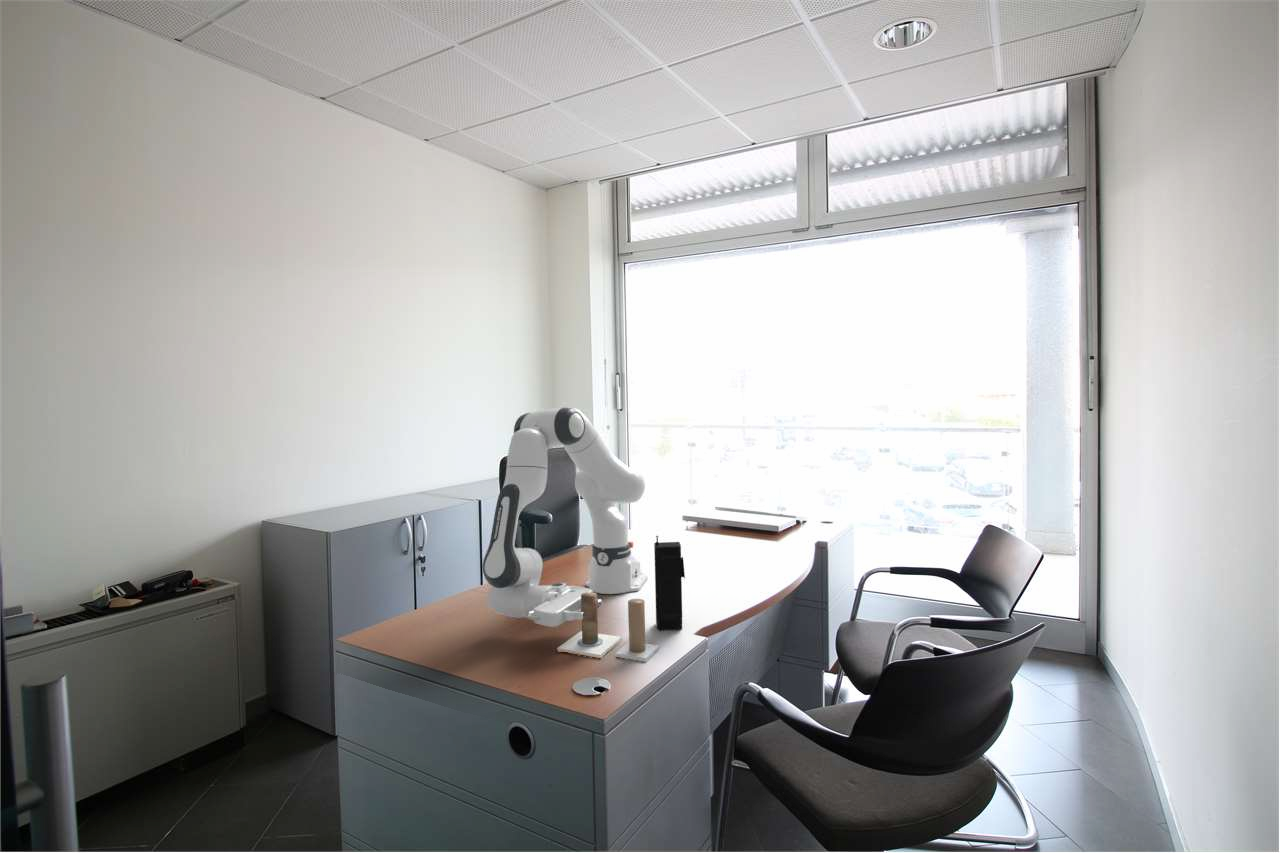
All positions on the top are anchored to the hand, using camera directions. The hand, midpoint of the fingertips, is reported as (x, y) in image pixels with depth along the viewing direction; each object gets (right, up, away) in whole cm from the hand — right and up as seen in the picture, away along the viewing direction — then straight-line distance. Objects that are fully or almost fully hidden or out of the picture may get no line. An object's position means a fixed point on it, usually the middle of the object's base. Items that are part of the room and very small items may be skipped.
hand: (592, 609), depth 170 cm
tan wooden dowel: (+11, -9, -4) cm, 15 cm away
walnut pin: (-1, -8, +1) cm, 8 cm away
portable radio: (+20, -8, +14) cm, 26 cm away
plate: (-1, -9, +1) cm, 10 cm away
